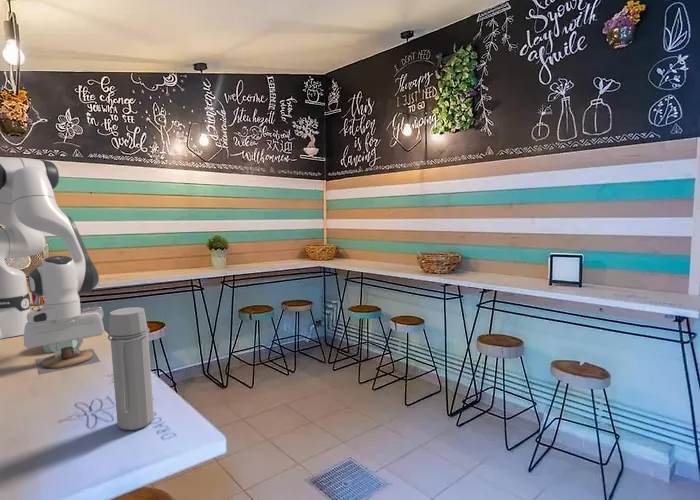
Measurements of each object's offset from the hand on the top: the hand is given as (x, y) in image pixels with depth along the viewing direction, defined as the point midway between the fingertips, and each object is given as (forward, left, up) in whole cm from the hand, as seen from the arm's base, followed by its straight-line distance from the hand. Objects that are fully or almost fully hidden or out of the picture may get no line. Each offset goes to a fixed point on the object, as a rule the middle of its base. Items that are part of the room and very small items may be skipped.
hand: (67, 355), depth 130 cm
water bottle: (+41, -36, -2) cm, 55 cm away
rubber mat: (0, 0, -2) cm, 2 cm away
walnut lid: (0, 0, -2) cm, 2 cm away
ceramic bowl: (-11, +12, -2) cm, 16 cm away
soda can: (-68, +74, -2) cm, 100 cm away
